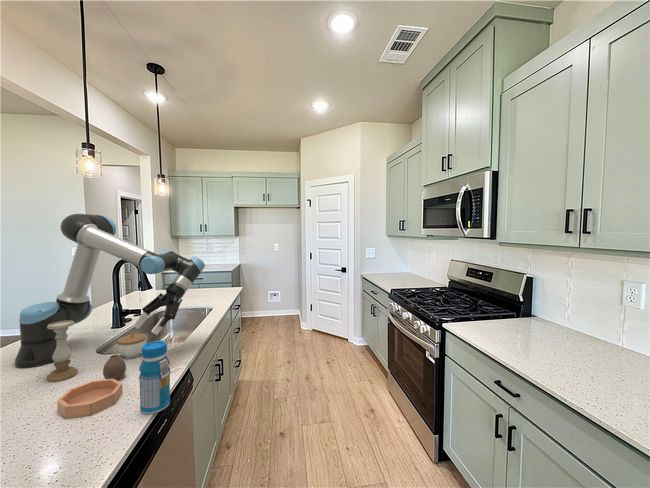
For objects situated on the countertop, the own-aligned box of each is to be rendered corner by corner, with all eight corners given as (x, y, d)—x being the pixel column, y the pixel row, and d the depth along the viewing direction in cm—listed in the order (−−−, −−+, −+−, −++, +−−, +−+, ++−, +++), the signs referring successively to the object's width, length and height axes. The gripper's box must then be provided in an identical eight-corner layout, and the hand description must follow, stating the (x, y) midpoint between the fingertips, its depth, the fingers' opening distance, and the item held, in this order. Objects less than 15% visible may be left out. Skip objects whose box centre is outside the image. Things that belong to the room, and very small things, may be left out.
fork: (141, 388, 101) (141, 383, 101) (185, 362, 120) (185, 358, 120) (148, 389, 100) (148, 384, 100) (191, 363, 119) (191, 359, 119)
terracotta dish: (51, 407, 88) (51, 396, 88) (107, 384, 101) (107, 375, 101) (72, 423, 81) (71, 411, 81) (129, 397, 94) (129, 387, 94)
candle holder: (39, 381, 103) (37, 327, 102) (62, 370, 112) (61, 319, 111) (62, 382, 103) (60, 327, 102) (84, 370, 111) (82, 320, 110)
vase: (108, 385, 101) (107, 361, 101) (99, 380, 105) (99, 357, 104) (129, 377, 107) (129, 354, 106) (121, 372, 110) (120, 350, 110)
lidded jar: (132, 361, 119) (131, 339, 119) (111, 359, 122) (110, 337, 121) (152, 351, 130) (152, 331, 129) (132, 349, 132) (132, 329, 132)
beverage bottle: (140, 419, 83) (139, 352, 82) (138, 404, 90) (137, 343, 89) (172, 408, 88) (171, 346, 87) (168, 395, 95) (167, 337, 94)
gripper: (202, 295, 123) (169, 340, 111) (167, 289, 135) (135, 329, 123) (190, 285, 118) (155, 331, 106) (156, 279, 130) (121, 320, 118)
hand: (144, 330), depth 114 cm, fingers open, 13 cm apart
